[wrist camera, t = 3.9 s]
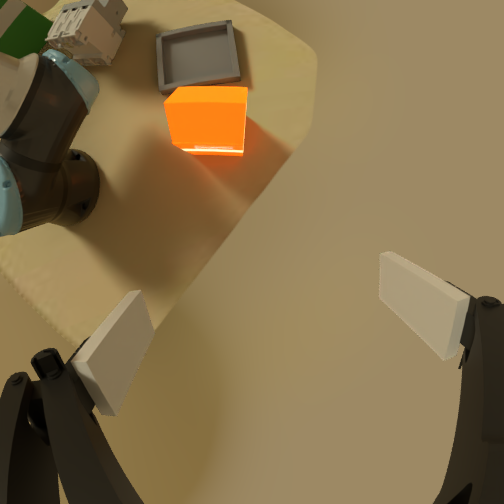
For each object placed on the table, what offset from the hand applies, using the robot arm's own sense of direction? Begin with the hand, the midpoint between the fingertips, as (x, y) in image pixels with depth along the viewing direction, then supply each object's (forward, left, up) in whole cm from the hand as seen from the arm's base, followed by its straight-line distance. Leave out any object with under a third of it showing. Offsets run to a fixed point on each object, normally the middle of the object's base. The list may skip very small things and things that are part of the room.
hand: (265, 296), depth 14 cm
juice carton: (-3, +15, -35) cm, 38 cm away
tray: (-5, +31, -35) cm, 47 cm away
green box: (-47, +52, -35) cm, 78 cm away
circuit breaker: (-23, +43, -35) cm, 60 cm away
